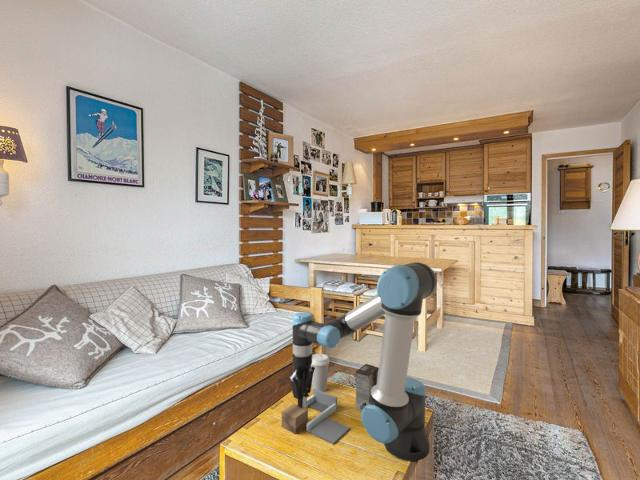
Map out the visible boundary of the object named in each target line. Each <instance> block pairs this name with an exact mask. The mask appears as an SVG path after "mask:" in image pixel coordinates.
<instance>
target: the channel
mask: <svg viewBox="0 0 640 480" xmlns="http://www.w3.org/2000/svg"><path fill="white" fill-rule="evenodd" d="M306 408H310V409H312V410H315V411H316V412H317V411H318V412H320V413H319V414H318V415H316V416H315V417H313V419H311V420H310V421H308V423H307V424H306V427H305V428H306V429H305V430H306V431H307V432H309V430H311V429H312V428H313V427H315V426H316V425H317V424H318V423H320V422H321V421H322V420H323V419H325V418H326V417H327V418H329V416H330V415H332V414H333V413H334V412H335V411H337V409H338V396H335V395H333V394H331V393H328V392H325V391H324V392H322V391H320V390H317V389H313V390H312V395H311V396H309V397H307V403H306Z"/></svg>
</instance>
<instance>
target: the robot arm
mask: <svg viewBox="0 0 640 480" xmlns="http://www.w3.org/2000/svg"><path fill="white" fill-rule="evenodd" d="M437 283H438V281H437V275H436V273H435V271H434V269H432V268H431V267H430V266H429V265H428V264H426V263H423V262H416V261H415V262H411V263H406V264H397V265H394V266H392V267H390V268H387V269H386V270H384V271H383V272H382V273H381V274H380V275H379V278H378V280H377V284H376V293H377V294H375V295H373V296H372V297H370V298H367V300H366V301H364V302H362V303H360V304H359V305H357V306H356V307H354V308H353V309H351V310H349V311H347V312H346V313H344V314H342V315H341V316H339V317H338V318H334V319H331V320H329V321H325V322H317V321H314V320H313V314H312V313H310V312H305V311H301V312H296V313H294V314H293V317H292V324H291V326H292V365H293V374H292V375H289V376H288V380H289V381H290V384H291V391H292V395H293V398H294V399H297V405H298V406H299V407H303V408H305V409H307V407H306V403H307V399H308V398H309V397H310V393H311V391H312V378H313V373H314V370H315V367H313V366H311V364H312V355H313V344H314V345H318V346H321V347H322V348H323V347H324V348H327V349H333V348H336V346H337V345H338V344H339V342H340V340H341V339H343V338H346V337H348V336H349V337H350V336H351V335H353V334H355V333H356V332H358V331H359V330H361V329H362V328H364V327H366V326H368V325H369V324H371V323H373V322H375V321H376V320H379V319H380V318H382V317H383V316H384V323H383V324H384V325H383V330H382V331H383V333H382V340H381V347H380V348H381V349H380V354H379V355H380V357H379V364H378V367H379V370H378V378H377V385H375V386H373V387H372V389H371V394H370V402H369V404H368V405H366V406H365V408H364V409H363V410H362V411H361V415H360V419H361V424H362V426H363V429H365V431H366V433H367V435H369V436H370V437H371V439H374V440H375V441H376V442H378V443H381V444H383V445H384V447H385V449H386V451H387V452H389V454H390V455H392V456H394V457H395V458H398V459H400V460H404V461H408V460H410V462H416V461H417V462H418V461H420V460H421V461H422V460H424V459H426V458H427V457H428V455H429V454H430V440H429V437H428V433H427V430H426V427H425V425H426V423H425V422H426V397H427V394H426V386H425V385H424V383H423V382H421V380H418V379H416V378H413V377H410V376H409V377H408V370H409V363H410V355H411V349H412V348H411V347H412V341H413V334H414V329H415V328H414V327H415V320H416V318H418V317H419V316H421V314H422V308H423V301H424V300H426V299H427V298H429V297H430V296H431V295H432V294H433V293H434V292H435V290H436V288H437Z"/></svg>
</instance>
